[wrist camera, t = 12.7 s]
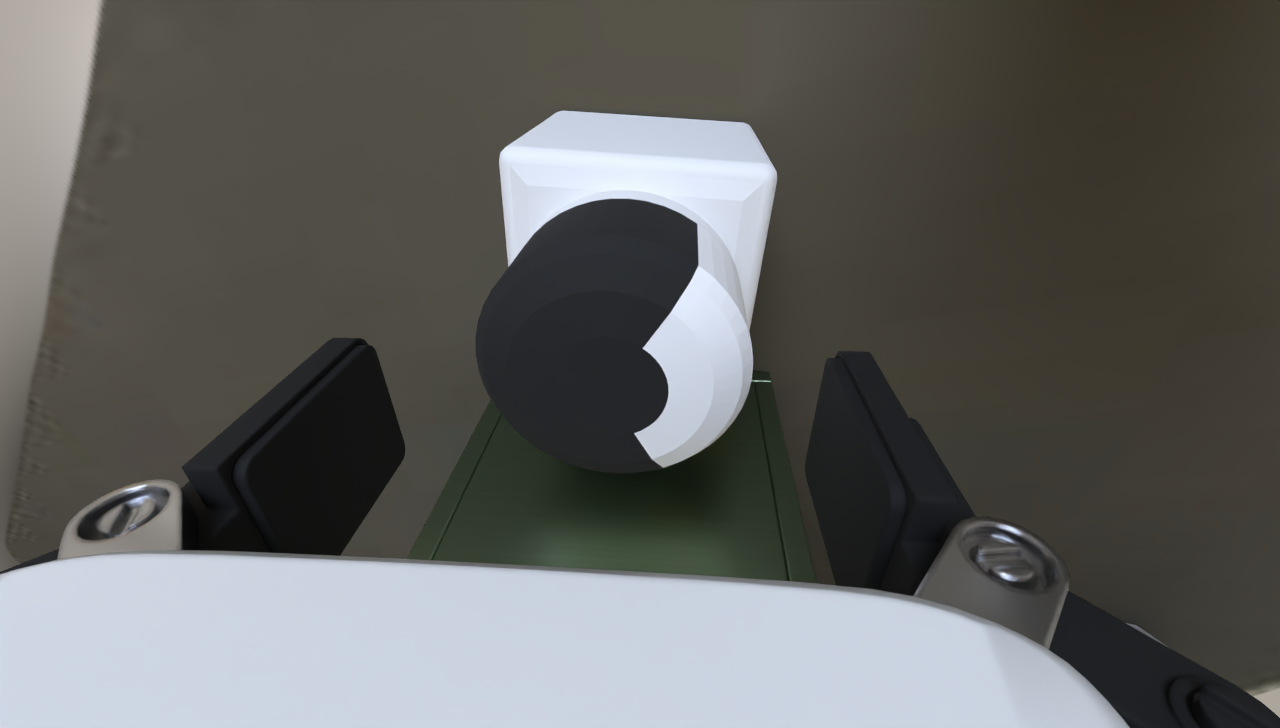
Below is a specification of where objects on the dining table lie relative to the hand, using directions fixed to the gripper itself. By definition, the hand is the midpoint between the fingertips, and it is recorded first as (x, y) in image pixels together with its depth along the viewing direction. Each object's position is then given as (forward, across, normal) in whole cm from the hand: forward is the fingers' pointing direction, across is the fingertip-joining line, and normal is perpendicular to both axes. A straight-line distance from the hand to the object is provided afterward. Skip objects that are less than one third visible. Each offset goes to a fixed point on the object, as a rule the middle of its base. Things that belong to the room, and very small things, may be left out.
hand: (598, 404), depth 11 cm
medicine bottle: (+12, 0, -1) cm, 12 cm away
